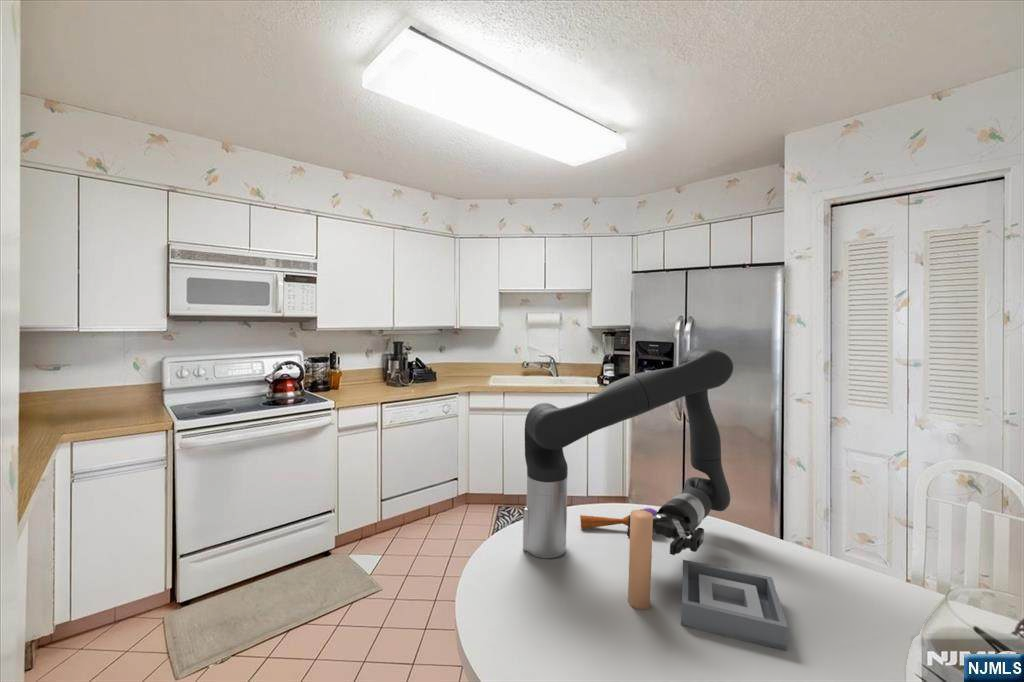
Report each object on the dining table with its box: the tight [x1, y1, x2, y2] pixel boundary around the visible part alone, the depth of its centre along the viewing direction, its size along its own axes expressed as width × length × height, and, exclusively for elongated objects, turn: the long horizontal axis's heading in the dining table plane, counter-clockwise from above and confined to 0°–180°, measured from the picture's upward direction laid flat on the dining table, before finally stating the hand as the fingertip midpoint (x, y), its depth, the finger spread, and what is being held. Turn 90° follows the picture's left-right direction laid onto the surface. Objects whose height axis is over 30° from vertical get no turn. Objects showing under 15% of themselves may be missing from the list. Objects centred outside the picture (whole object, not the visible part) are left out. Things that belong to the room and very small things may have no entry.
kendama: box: [579, 507, 658, 530], centre depth 113 cm, size 6×6×20 cm
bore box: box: [680, 559, 789, 652], centre depth 83 cm, size 16×15×4 cm
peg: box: [627, 509, 653, 610], centre depth 84 cm, size 4×4×17 cm
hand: (650, 542), depth 87 cm, fingers open, 8 cm apart
